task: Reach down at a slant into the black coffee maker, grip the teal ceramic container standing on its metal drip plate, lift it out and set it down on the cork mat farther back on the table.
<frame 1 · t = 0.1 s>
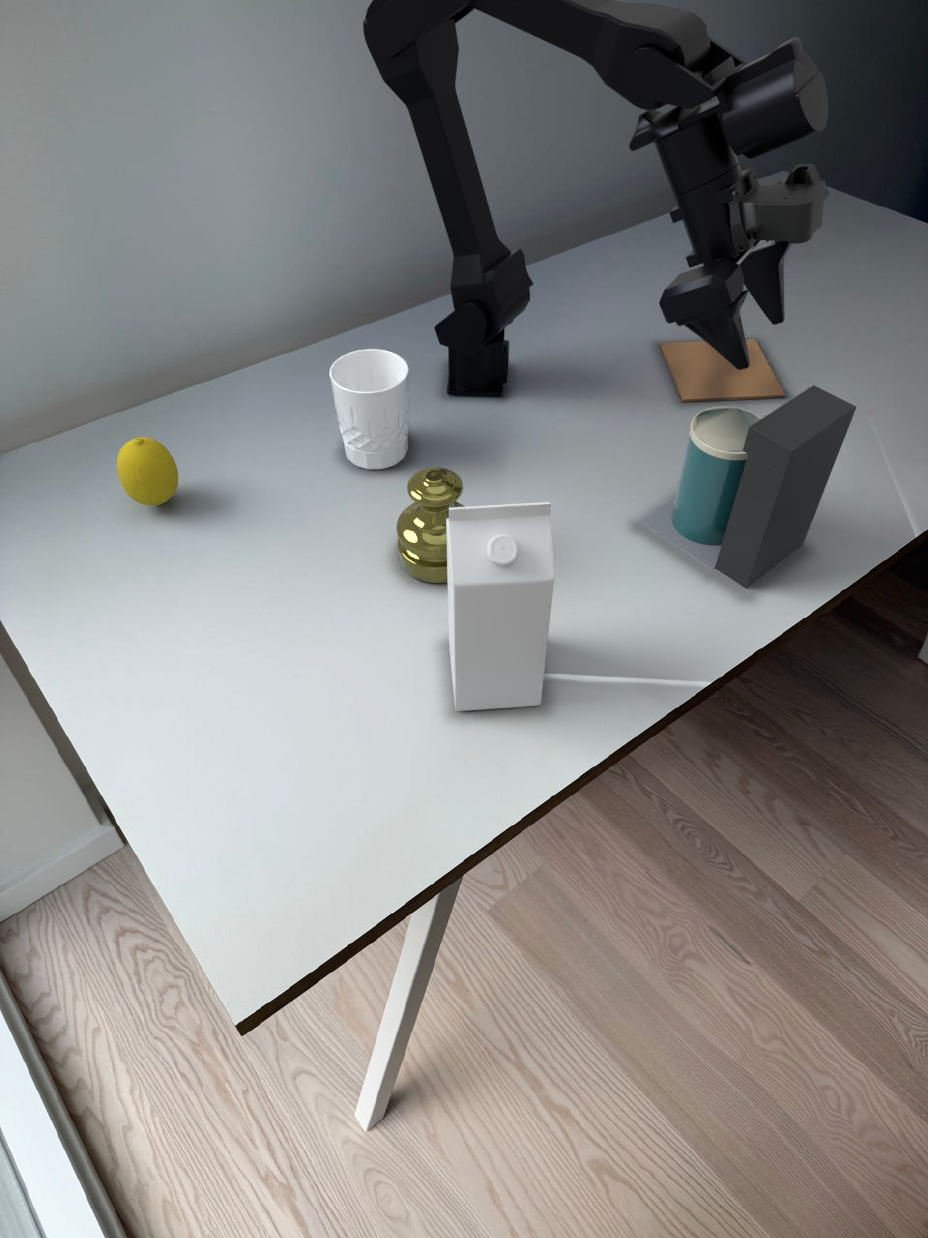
hand: (762, 344, 83), 15 cm above the table, tool tilted 35°, fingers open, 9 cm apart
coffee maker: (704, 527, 88), on the table
lemon: (159, 505, 91), on the table
brass calibration weight: (437, 559, 85), on the table
milk carton: (493, 677, 76), on the table
cork mat: (719, 370, 107), on the table
container: (705, 521, 88), point 1 cm above the table, touching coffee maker
white cup: (376, 452, 96), on the table
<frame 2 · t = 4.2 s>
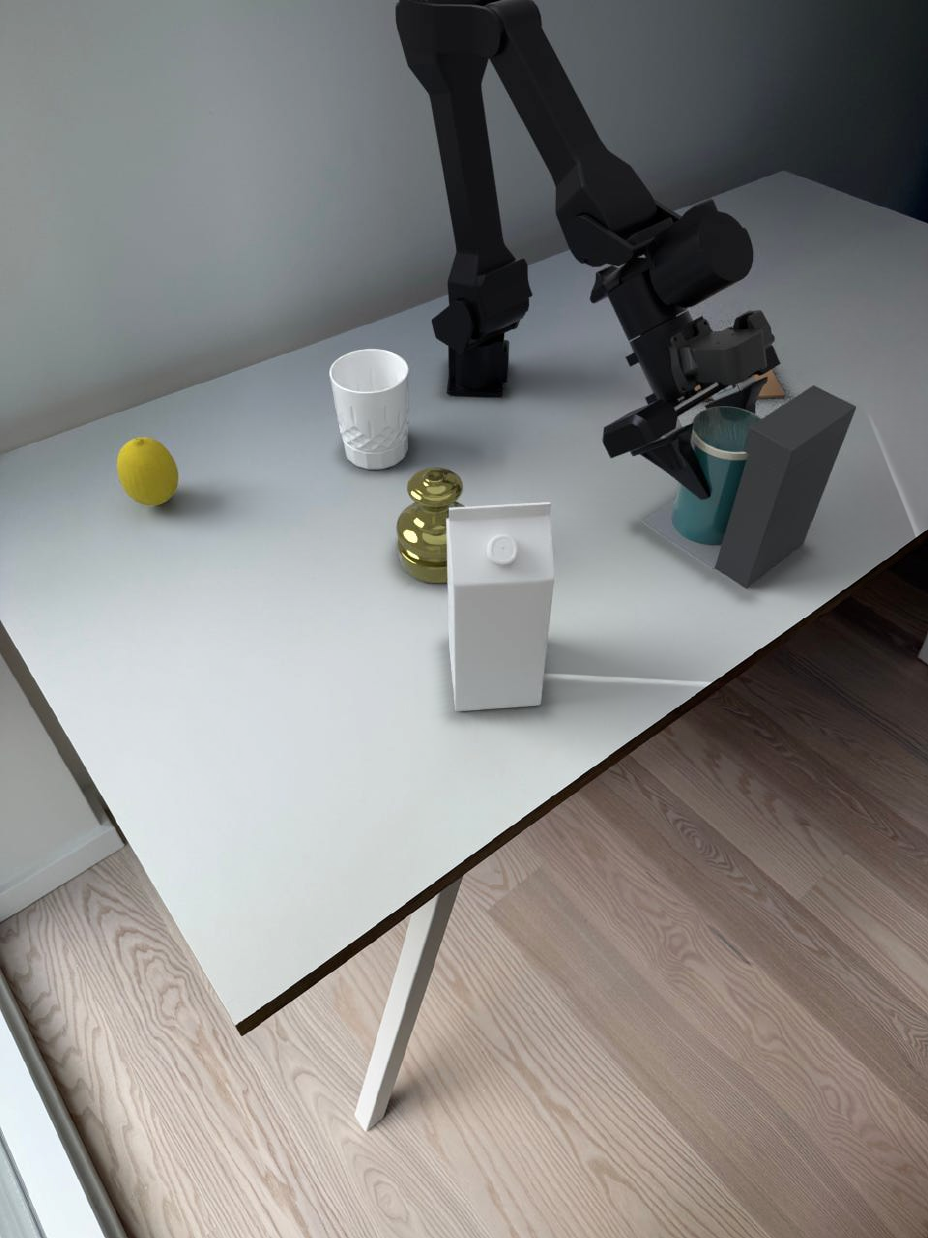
hand: (730, 481, 83), 7 cm above the table, tool tilted 45°, fingers closed on container, 7 cm apart
container: (706, 521, 88), point 1 cm above the table, touching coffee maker, gripper
everything else where it was.
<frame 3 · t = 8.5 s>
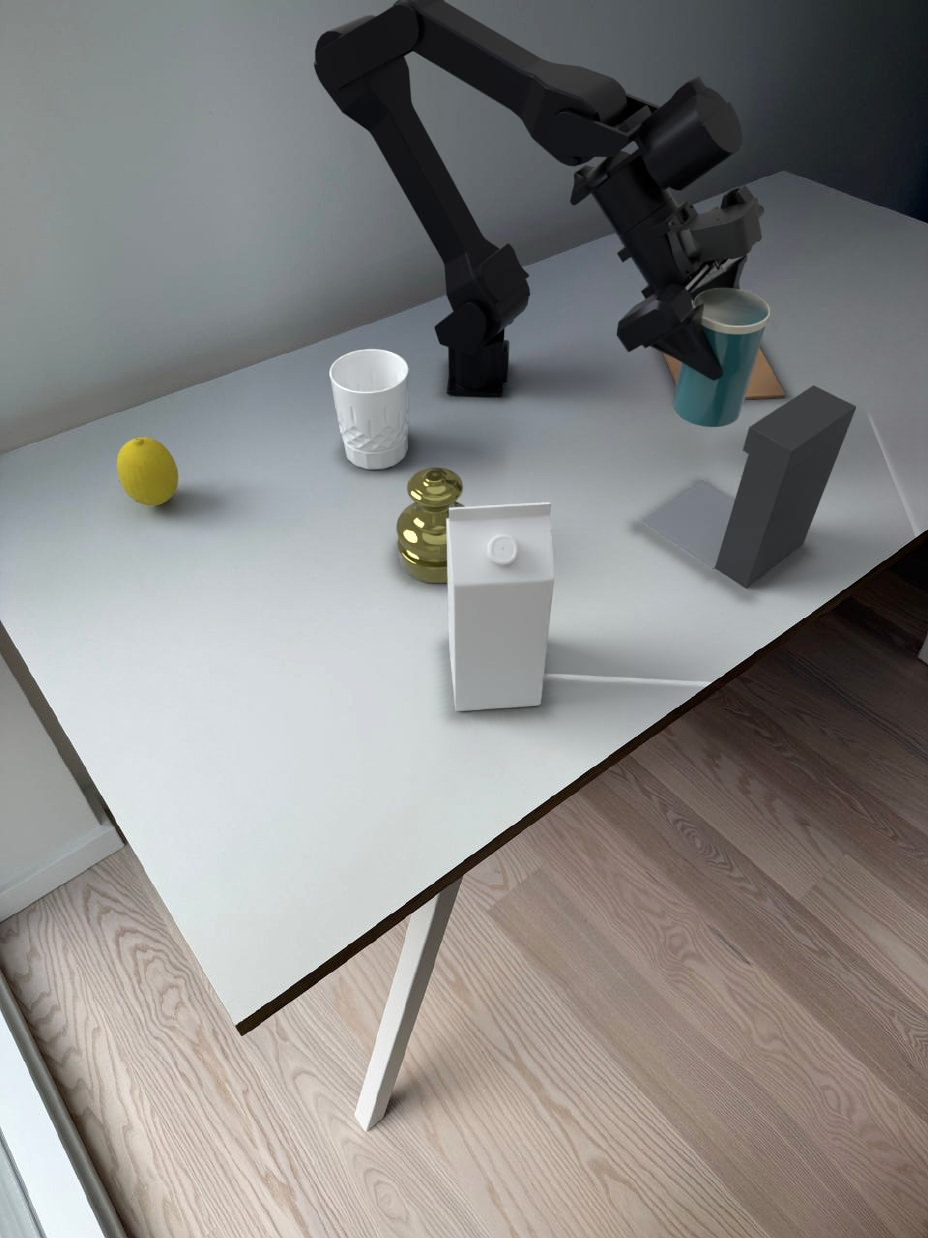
hand: (732, 360, 85), 13 cm above the table, tool tilted 45°, fingers closed on container, 7 cm apart
container: (706, 406, 90), point 7 cm above the table, touching gripper
everything else where it was.
when the fingers open (6 cm above the table, at t = 12.8 s): container stays where it is, resting on cork mat.
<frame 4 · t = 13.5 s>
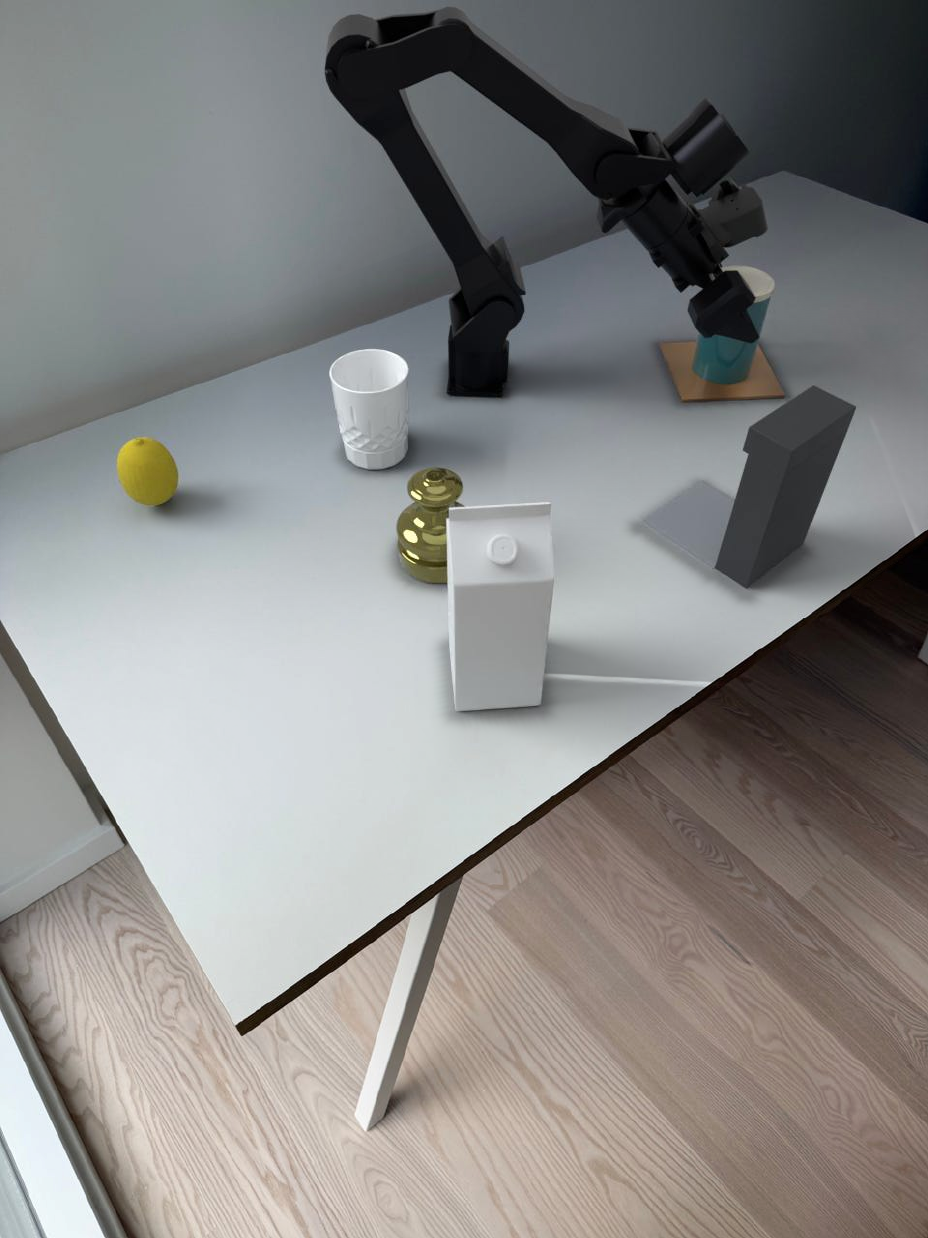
hand: (743, 318, 102), 7 cm above the table, tool tilted 45°, fingers open, 9 cm apart
container: (720, 367, 106), resting on cork mat
everything else where it was.
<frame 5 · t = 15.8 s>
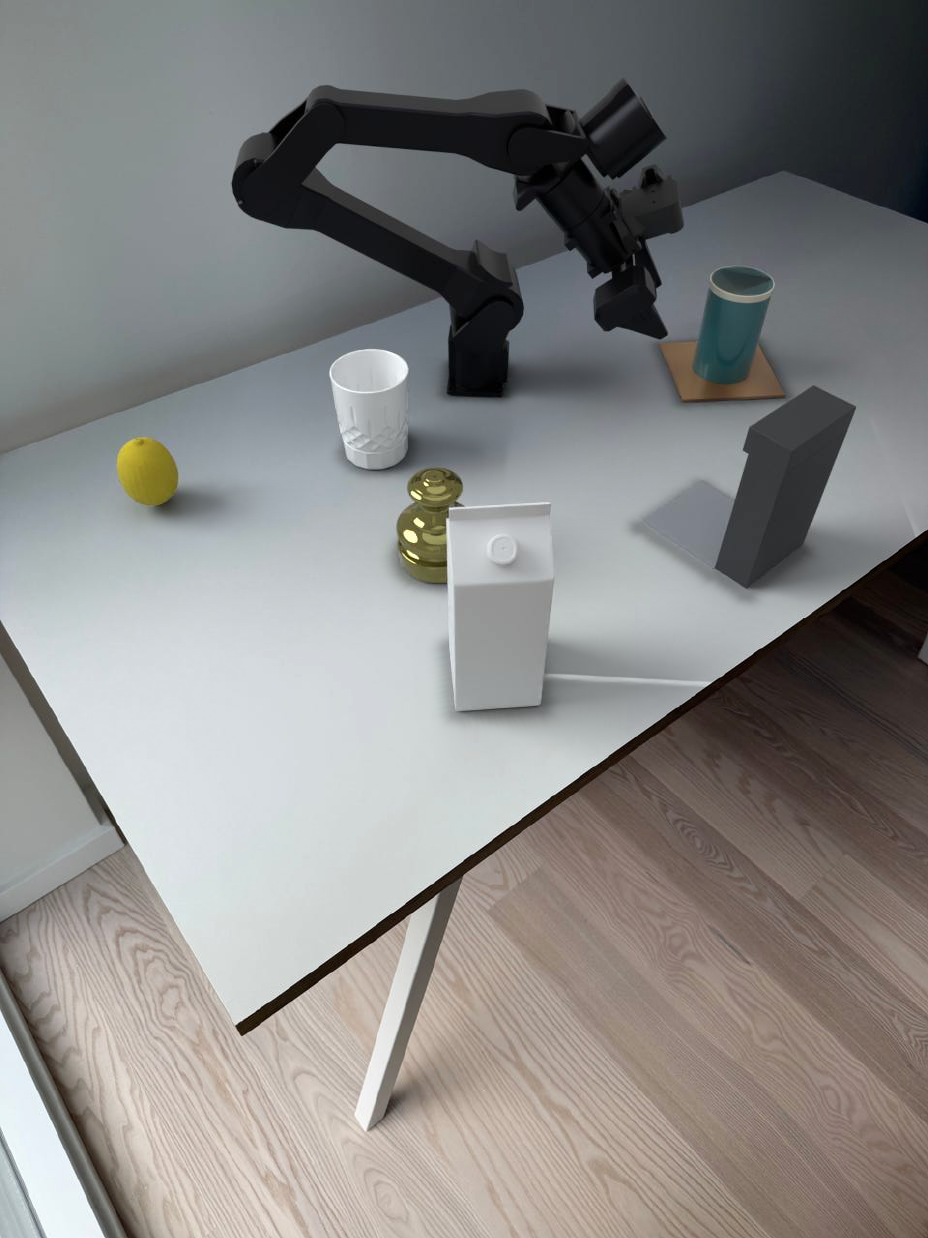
hand: (661, 310, 100), 8 cm above the table, tool tilted 40°, fingers open, 9 cm apart
nothing on the table moved.
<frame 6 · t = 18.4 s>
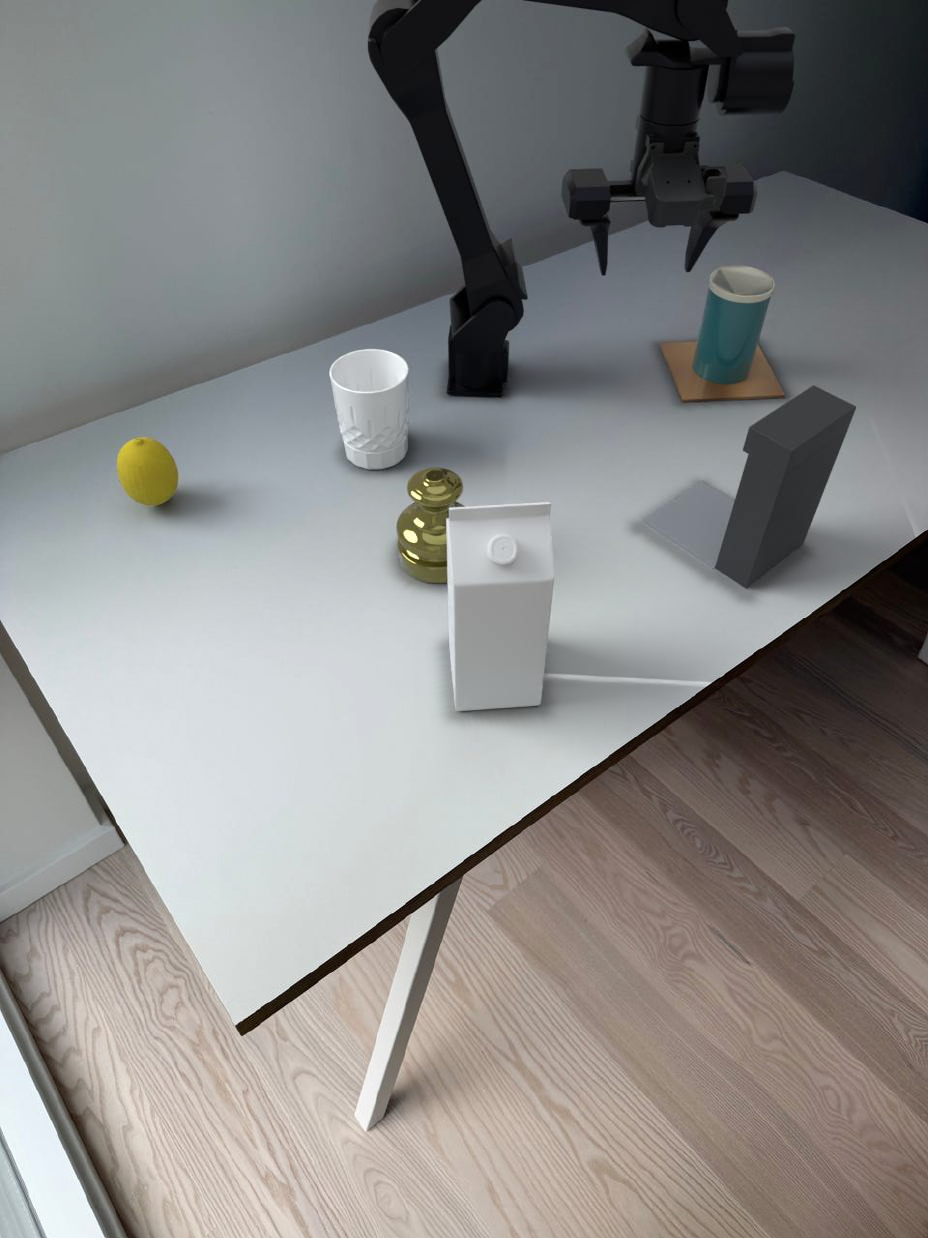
hand: (645, 272, 96), 13 cm above the table, tool pointing down, fingers open, 9 cm apart
nothing on the table moved.
at the end: container 0.0 cm off-centre on the cork mat, point 0.4 cm above the cork mat's base; container tilted 0°; container moved 28.5 cm from its start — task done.
